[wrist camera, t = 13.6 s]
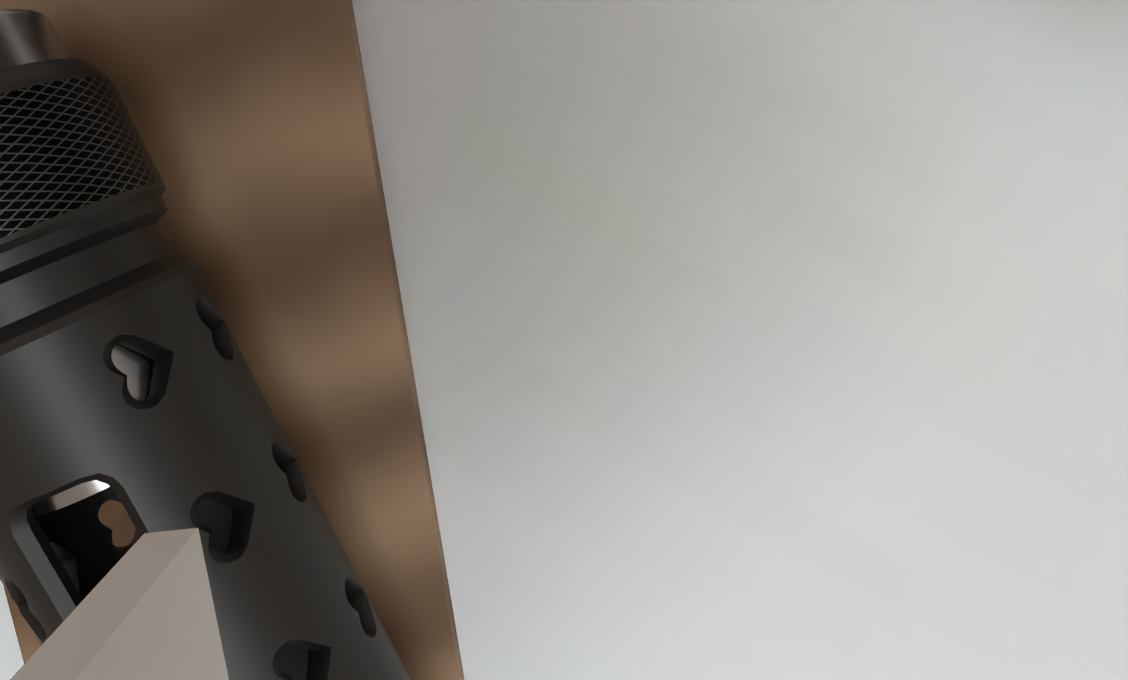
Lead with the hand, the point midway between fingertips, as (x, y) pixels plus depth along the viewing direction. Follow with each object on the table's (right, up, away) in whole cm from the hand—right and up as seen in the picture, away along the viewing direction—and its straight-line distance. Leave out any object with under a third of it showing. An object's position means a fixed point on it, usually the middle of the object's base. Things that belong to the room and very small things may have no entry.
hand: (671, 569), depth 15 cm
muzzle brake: (-14, 0, +23) cm, 28 cm away
